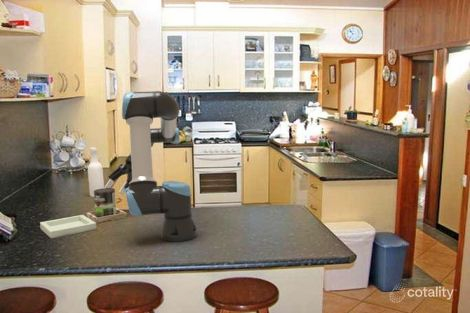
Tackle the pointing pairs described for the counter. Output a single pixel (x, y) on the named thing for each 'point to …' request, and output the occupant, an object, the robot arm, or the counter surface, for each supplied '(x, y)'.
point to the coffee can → (105, 202)
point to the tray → (67, 226)
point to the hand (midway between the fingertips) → (112, 192)
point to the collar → (93, 217)
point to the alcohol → (95, 173)
